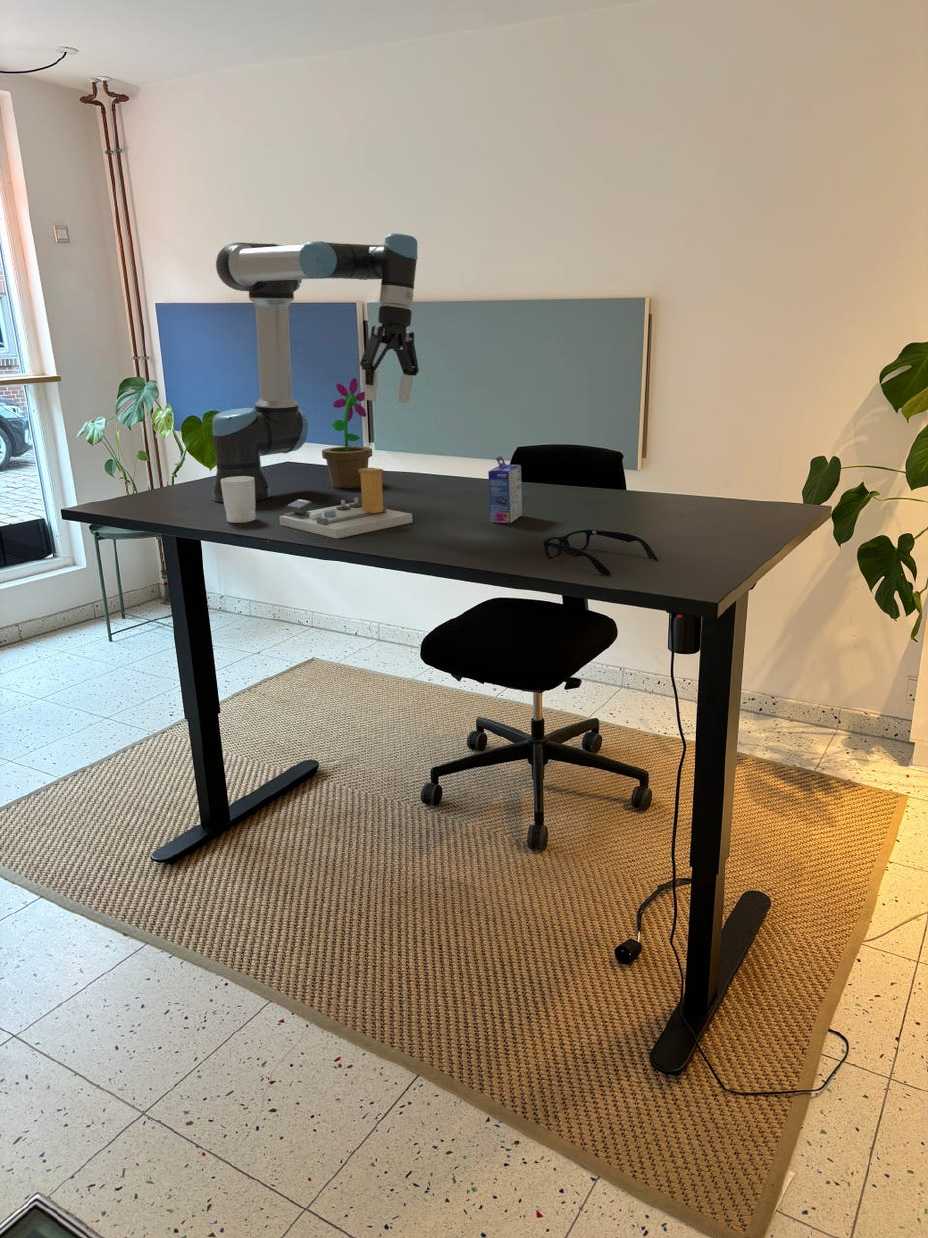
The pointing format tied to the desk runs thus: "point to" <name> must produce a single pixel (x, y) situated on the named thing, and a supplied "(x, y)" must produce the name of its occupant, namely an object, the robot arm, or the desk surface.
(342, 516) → the console
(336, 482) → the flowerpot
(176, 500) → the desk surface
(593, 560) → the glasses
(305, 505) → the rocker
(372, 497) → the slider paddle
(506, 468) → the ink cartridge box
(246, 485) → the white cup
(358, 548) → the desk surface
